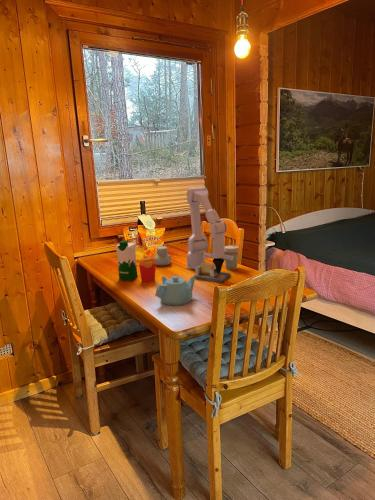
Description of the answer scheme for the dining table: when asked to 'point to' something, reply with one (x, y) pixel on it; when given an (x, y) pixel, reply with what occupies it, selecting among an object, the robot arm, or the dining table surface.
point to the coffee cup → (231, 251)
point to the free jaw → (213, 272)
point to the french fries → (147, 269)
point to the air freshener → (162, 256)
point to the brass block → (206, 268)
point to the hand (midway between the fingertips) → (218, 272)
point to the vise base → (219, 278)
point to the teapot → (175, 290)
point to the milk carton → (126, 260)
